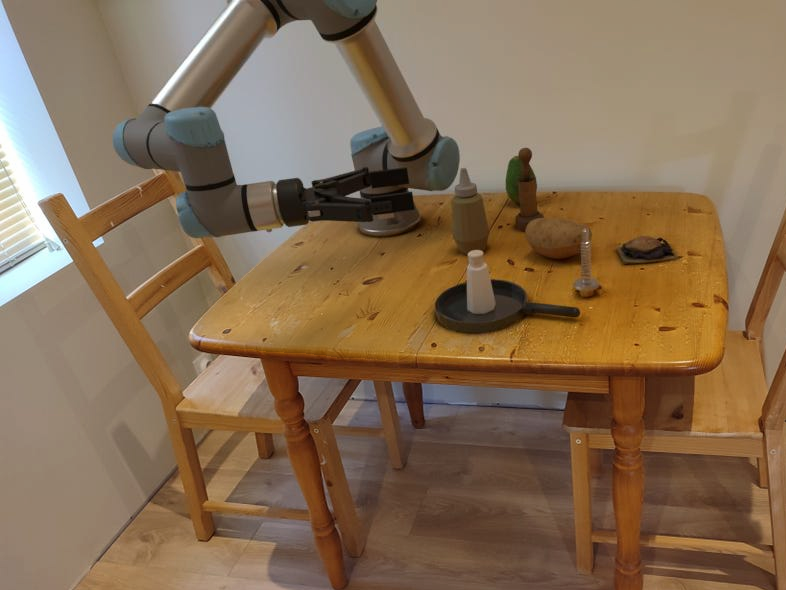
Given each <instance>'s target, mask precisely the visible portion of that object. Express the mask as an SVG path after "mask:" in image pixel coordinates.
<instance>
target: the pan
mask: <svg viewBox="0 0 786 590" xmlns="http://www.w3.org/2000/svg"><path fill="white" fill-rule="evenodd" d="M490 280H491V285H492V289H493V294H494V298H495V303H496V305H495V308H494V310H493V311H490V312H488V313H486V314H473V313H471V312H470V311H468V310H467V281H464V282H461V283H458V284H456V285H454V286H451V287H449V288H447V289H445V290H444V291H442V293H440V294H439V295H438V296H437V298H436V300H435V302H434V311H435V315H436V319H437V321H438V322H439V324H440V325H442V326H443V327H445V328H446V329H450V330H452V331H454V332H459V333H467V334H482V333H483V334H484V333H489V332H495V331H499V330H502V329H506V328H508V327H511V326H512V325H514V324H516V323H517V322H519V321H520V320H522V319H523V318H524V316H526V314H524V313H523V312H522V307H523V306H522V304H523V303H524V302H529V297H528V293H527V291H526V289H524V288H523V287H522V286H521V285H519V284H518V283H515V282H513V281H508V280H505V279H497V278H490Z"/></svg>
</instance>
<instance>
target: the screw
mask: <svg viewBox="0 0 786 590" xmlns="http://www.w3.org/2000/svg"><path fill="white" fill-rule="evenodd" d="M591 243H592V242H591V241H590V240H589V229H586V228H585V229H583V230H582V242H581V244H582V245H581V252H580V253H581V254H580V256H581V257H580V259H581V260H580V262H581V263H580V265H581V266H580V271H581V272H580V276H581V277H579V278H577V279H575V281H574V282H572V288H573V289H575V290H576V291H578V292H579V296H580V297H584V298H588V297H591V296H594V291H596V290H598V288H599V287H600V281H599V279H597V278H594V277H592V252H591V251H592V246H591V245H592V244H591Z"/></svg>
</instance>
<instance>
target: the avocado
mask: <svg viewBox="0 0 786 590" xmlns="http://www.w3.org/2000/svg"><path fill="white" fill-rule="evenodd" d="M522 167H523V164H522V162H521V160H520V159H519V156H518V155H514V156H513V157H512V158H510V160H509V161H508V164H507V169H506V175H505V191H506V193H507V196H508V198H509V199H510V200H511V201H512V202H514V203H515V204H519V205H520V199H519V187H518V180H519V179H520V178H523V176H522V173H521V168H522ZM529 167H530V168H531V173H530V177H534V178H535V180H536V191H537V189H538V182H537V176H536V175H535V172H534V169H533V168H532V166H531V164H530V163H529Z"/></svg>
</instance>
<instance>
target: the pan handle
mask: <svg viewBox="0 0 786 590" xmlns="http://www.w3.org/2000/svg"><path fill="white" fill-rule="evenodd" d="M522 306H523V307H522V312H523V313H524V314H525V315H533V314H539V315H548V316H556V317H557V316H558V317H566V318H572V319H573V318H574V319H576V318H579V316H580V315H581V309H580V308H579V307H576V306H568V305H557V304H550V303H541V302H533V301H528V302H524V303H523V304H522Z"/></svg>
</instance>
